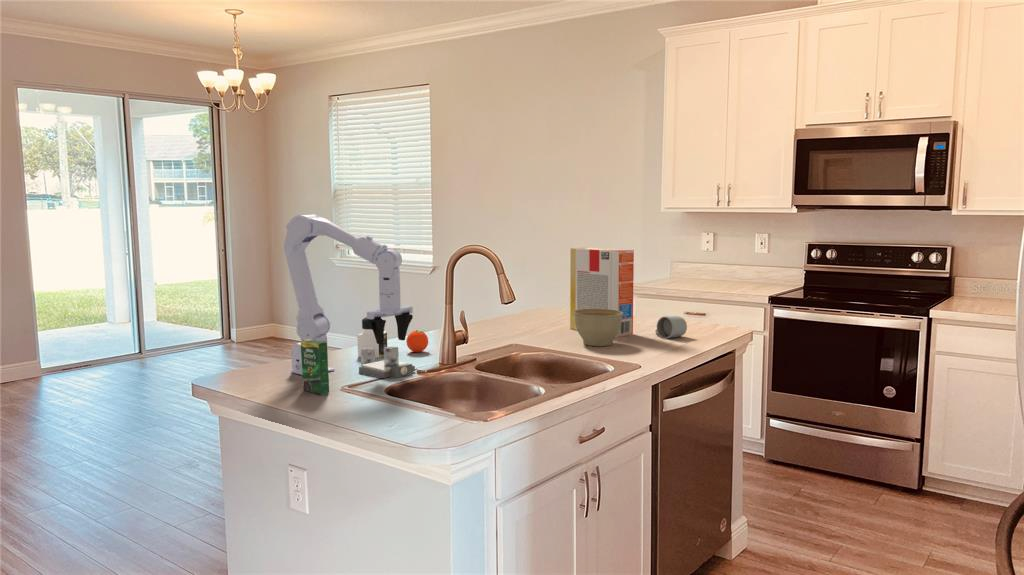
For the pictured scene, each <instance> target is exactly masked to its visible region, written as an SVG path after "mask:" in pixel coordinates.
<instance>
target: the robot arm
mask: <svg viewBox="0 0 1024 575" xmlns="http://www.w3.org/2000/svg"><path fill="white" fill-rule="evenodd" d="M285 227H286V233H285V234H286V235H285V239H284V241H283V242H284V243H283V251H284V254H285V259H286V262H287V267H288V270H289V275H290V280H291V283H292V287H293V291H294V294H295V298H296V303H297V306H298V310H297V311H298V312H297V315H296V321H297V325H296V335H297V336H298V338H299V339H300V341H302V340H307V339H310V340H316V341H324V342H327V343H328V337H327V336H328V335H327V334H328V333H329V331H330V328H331V322H330V320H329V318H328V317H327V316H326V315H325V314H326V313H325V312H324V309H323V308H322V307H321V306H320V305H319V302H318V299H317V295H316V294H317V293H316V291H315V286H314V283H313V278H312V275H311V270H310V267H309V266H310V265H309V263H308V258H307V254H306V249H307V247H308V245H309V244H311V242H312V241H313V240H314V239H315V238H317V237H318V236H319V237H320V236H326V237H328V238H331V239H333V240H335V241H337V242H340V243H341V244H344V245H345V246H348V247H349V248H352V251H353V254H354V255H356V256H358V257H359V258H362V259H363V260H365V261H367V262H369V263H371V264H373V265H375V267H376V268H377V269H378V291H379V293H378V294H379V299H378V300H379V301H378V302H379V308H377V309H372V310H370V311H366V317H367V319H368V323H369V324H370V326H371V328H372V330H373V332H374V335H375V338H376V342H377V344H383V342H384V331H385V327H386V322H387V320H386V319H383V318H386V317H392V316H394V319H395V322H396V327H397V339H398V340H399V341H405V340H406V338H407V337H406V336H407V332H408V328H409V326H410V324H411V322H412V320H413V319H414V318H413V317H414V316H413V314H414V312H413V311H414V309H413V308H414V307H413V306H411V305H405V306H401V274H400V266H401V265H402V262H403V258H402V255H401V253H400V252H399V251H398V250H396V248H388V245H386V244H381V243H379V242H377V241H375V240H373V238H374V237H372V236H371V235H367V236H365V235H362V236H359V237H357V236H356V235H354V234H353V233H350V232H349V231H347V230H345V229H344V228H342V227H341V226H339V225H337V224H335V223H333V222H332V221H330V220H329V219H326V218H324V217H320V216H319V215H317V214H313V213H312V214H304V215H302V214H296V215H294V216H292V218H291V219H290V220H289V222H288V223H287V224H286V226H285ZM300 341H299V342H297V343H294V344H293V345H292V347H291V370H290V373H294V374H297V375H301V376H303V375H302V358H301V343H300ZM328 353H329V352H328V347H327V355H328ZM333 371H336V370H335V367H334V368H333V367H330V366H328V372H333Z"/></svg>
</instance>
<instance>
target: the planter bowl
mask: <svg viewBox="0 0 1024 575" xmlns="http://www.w3.org/2000/svg"><path fill="white" fill-rule="evenodd" d="M574 316H575V324H576V328H577V330H576V331H577V332H578V334H579V336H580V337H581V339H582V342H583V344H584V345H587V346H591V347H592V346H593V347H594V346H595V347H606V346H612V344H613V341H614V340H615V338H617V337H616V335H617V334H618V332H619V330H620V327H621V323H622V316H623V312H621V311H618V310H612V309H580V310H575V311H574Z"/></svg>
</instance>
